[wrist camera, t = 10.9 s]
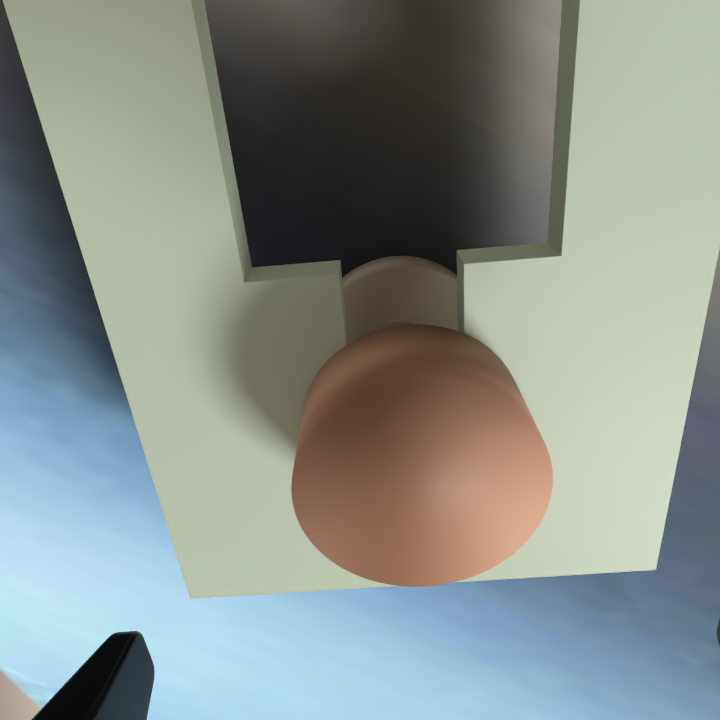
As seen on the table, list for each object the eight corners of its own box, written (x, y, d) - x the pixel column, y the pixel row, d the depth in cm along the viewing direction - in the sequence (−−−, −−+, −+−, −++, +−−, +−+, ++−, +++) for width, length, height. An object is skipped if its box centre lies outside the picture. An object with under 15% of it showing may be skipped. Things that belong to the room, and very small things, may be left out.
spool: (483, 248, 17) (562, 369, 10) (481, 400, 19) (545, 579, 13) (306, 263, 17) (272, 391, 11) (326, 412, 20) (309, 593, 13)
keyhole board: (650, -212, 13) (847, -397, 8) (581, 442, 21) (655, 569, 16) (87, -148, 14) (-86, -281, 8) (231, 467, 22) (190, 598, 17)
